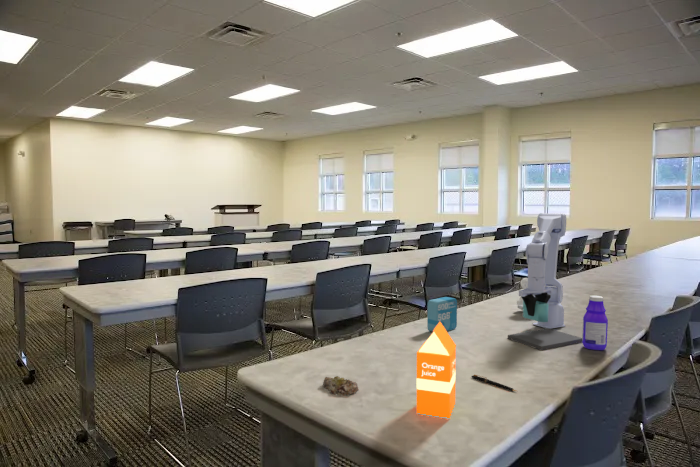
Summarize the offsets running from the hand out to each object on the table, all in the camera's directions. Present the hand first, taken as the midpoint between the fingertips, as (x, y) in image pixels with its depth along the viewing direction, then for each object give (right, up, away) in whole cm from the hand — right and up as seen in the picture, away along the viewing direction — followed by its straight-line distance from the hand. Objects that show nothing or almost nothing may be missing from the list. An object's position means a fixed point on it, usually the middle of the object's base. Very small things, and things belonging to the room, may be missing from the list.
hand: (535, 314), depth 167 cm
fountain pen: (-28, -12, -42) cm, 52 cm away
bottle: (+15, -9, -11) cm, 21 cm away
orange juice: (-46, -13, -56) cm, 73 cm away
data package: (-31, -8, +12) cm, 34 cm away
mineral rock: (-69, -12, -44) cm, 82 cm away
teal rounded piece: (-1, -1, +1) cm, 2 cm away
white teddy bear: (+13, -6, +39) cm, 41 cm away
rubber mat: (+2, -9, -2) cm, 9 cm away
